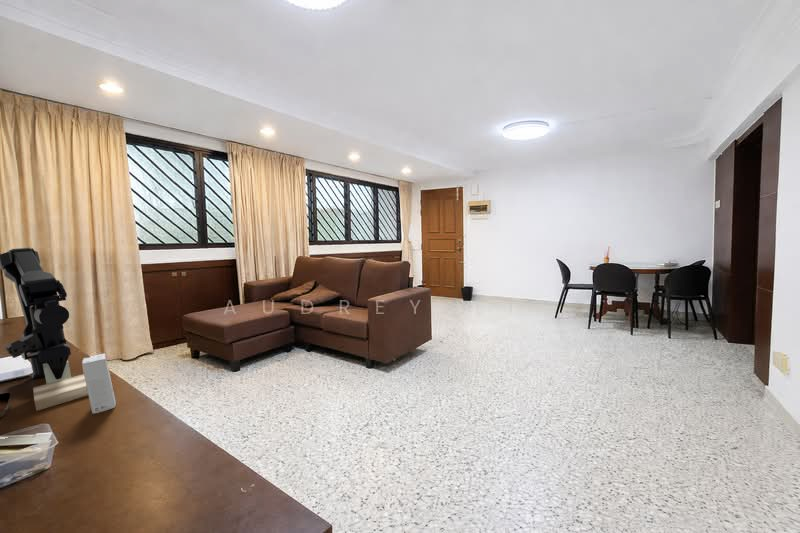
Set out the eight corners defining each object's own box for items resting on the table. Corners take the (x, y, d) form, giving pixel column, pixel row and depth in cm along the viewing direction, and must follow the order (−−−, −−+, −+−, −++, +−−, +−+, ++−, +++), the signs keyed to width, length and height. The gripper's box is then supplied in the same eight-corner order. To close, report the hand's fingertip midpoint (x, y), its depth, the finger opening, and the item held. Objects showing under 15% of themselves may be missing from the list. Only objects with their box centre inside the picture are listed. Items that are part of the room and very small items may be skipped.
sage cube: (46, 381, 101) (42, 364, 100) (69, 374, 104) (66, 358, 104) (47, 385, 97) (43, 368, 97) (71, 378, 101) (68, 362, 100)
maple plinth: (35, 396, 93) (33, 387, 93) (90, 381, 101) (88, 372, 101) (36, 410, 85) (34, 401, 85) (96, 392, 93) (94, 383, 93)
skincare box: (116, 407, 84) (107, 358, 82) (90, 415, 81) (81, 364, 79) (115, 398, 88) (107, 352, 87) (91, 405, 86) (82, 357, 84)
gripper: (5, 325, 99) (16, 378, 101) (3, 336, 87) (16, 397, 88) (60, 315, 107) (69, 365, 109) (65, 324, 95) (76, 380, 96)
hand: (58, 376), depth 101 cm, fingers closed on sage cube, 5 cm apart
